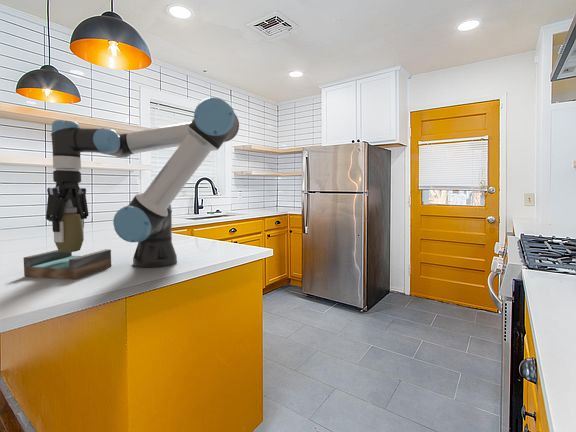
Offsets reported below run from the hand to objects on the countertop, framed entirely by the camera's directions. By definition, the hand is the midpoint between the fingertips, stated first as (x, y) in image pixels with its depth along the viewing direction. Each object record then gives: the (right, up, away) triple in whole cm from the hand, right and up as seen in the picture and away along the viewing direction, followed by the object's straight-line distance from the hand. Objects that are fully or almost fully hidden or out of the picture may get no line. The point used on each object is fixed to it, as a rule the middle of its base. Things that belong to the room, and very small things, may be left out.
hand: (69, 239), depth 108 cm
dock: (0, -10, +1) cm, 10 cm away
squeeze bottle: (0, -4, 0) cm, 4 cm away
